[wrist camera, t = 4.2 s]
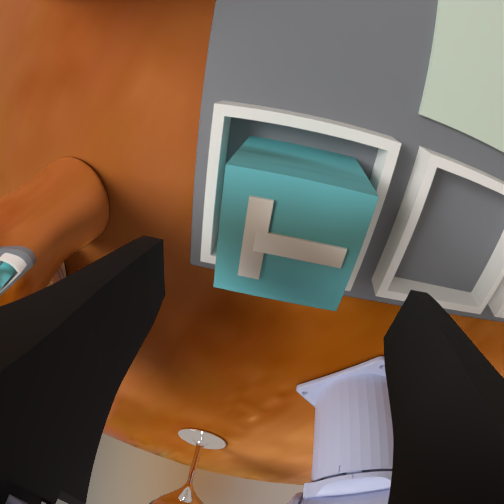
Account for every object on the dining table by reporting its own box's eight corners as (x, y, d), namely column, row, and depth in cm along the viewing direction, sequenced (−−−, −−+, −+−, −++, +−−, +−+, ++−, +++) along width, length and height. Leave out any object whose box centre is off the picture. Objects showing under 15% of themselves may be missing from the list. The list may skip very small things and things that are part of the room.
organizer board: (535, 321, 17) (545, 339, 15) (194, 257, 19) (181, 279, 17) (618, 108, 6) (636, 116, 4) (238, -85, 8) (228, -104, 6)
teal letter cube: (329, 246, 16) (336, 312, 12) (237, 228, 16) (212, 288, 12) (355, 157, 13) (379, 198, 9) (250, 135, 14) (225, 164, 9)
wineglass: (231, 454, 36) (205, 564, 21) (175, 441, 37) (141, 547, 22) (234, 433, 32) (203, 568, 17) (168, 418, 32) (125, 545, 17)
